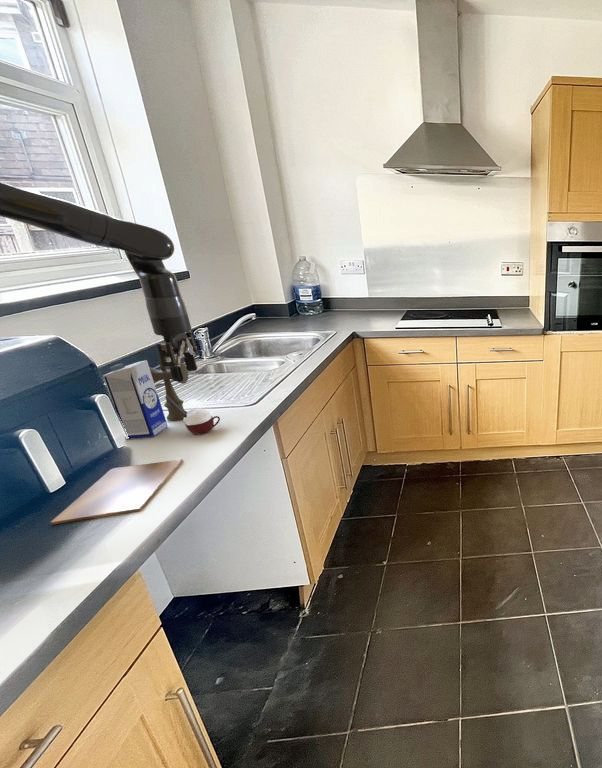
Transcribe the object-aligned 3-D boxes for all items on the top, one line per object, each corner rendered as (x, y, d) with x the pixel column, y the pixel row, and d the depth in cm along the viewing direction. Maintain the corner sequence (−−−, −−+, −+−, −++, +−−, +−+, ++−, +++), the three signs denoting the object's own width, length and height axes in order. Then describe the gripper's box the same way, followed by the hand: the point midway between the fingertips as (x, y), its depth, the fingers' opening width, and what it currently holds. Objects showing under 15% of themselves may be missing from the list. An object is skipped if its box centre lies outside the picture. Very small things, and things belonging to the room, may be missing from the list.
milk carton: (153, 437, 112) (130, 366, 105) (124, 439, 110) (98, 368, 104) (168, 426, 118) (147, 359, 111) (141, 428, 117) (118, 360, 110)
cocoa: (224, 425, 118) (213, 386, 114) (215, 435, 113) (203, 394, 109) (186, 429, 116) (174, 389, 112) (175, 439, 111) (162, 397, 107)
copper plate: (51, 524, 78) (50, 522, 78) (112, 470, 96) (111, 468, 96) (140, 511, 82) (139, 508, 82) (183, 461, 100) (182, 459, 100)
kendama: (193, 420, 122) (174, 354, 115) (154, 424, 120) (132, 357, 113) (200, 412, 128) (183, 349, 121) (163, 416, 125) (143, 352, 118)
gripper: (163, 310, 109) (181, 368, 115) (135, 320, 96) (156, 385, 102) (197, 308, 111) (212, 366, 117) (173, 318, 98) (191, 382, 104)
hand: (186, 375), depth 109 cm, fingers open, 8 cm apart
